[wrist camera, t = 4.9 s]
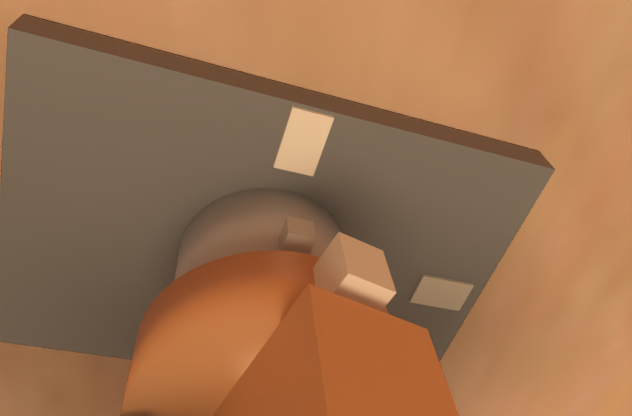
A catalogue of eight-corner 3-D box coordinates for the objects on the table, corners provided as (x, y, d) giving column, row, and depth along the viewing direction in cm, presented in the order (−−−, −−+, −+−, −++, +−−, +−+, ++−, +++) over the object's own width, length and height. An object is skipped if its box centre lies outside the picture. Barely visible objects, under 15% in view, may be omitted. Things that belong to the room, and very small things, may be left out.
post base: (4, 315, 17) (-52, 435, 14) (23, 13, 13) (-54, 84, 9) (410, 374, 20) (442, 482, 17) (539, 151, 16) (616, 238, 13)
